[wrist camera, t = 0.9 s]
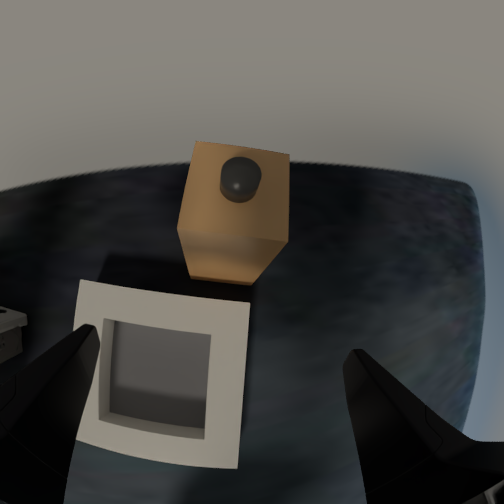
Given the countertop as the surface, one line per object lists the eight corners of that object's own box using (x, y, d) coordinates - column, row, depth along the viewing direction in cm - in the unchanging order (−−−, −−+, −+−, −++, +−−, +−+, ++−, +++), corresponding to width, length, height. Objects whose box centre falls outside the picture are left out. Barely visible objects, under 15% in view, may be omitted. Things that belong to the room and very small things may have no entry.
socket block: (233, 453, 18) (237, 468, 15) (86, 428, 16) (72, 437, 14) (244, 307, 22) (250, 302, 19) (94, 286, 20) (80, 279, 18)
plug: (250, 285, 23) (296, 232, 11) (190, 278, 22) (174, 216, 11) (255, 224, 24) (295, 133, 13) (199, 217, 24) (197, 119, 12)
